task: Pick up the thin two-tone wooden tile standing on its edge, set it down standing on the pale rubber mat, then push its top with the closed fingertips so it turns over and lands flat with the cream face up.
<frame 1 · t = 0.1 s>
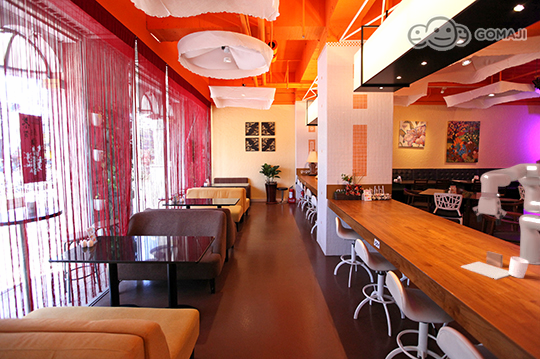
hand: (488, 223, 160), 31 cm above the bar counter, fingers open, 9 cm apart
mat: (486, 270, 167), on the bar counter
white cup: (515, 275, 158), on the bar counter
tile: (494, 265, 174), on the bar counter
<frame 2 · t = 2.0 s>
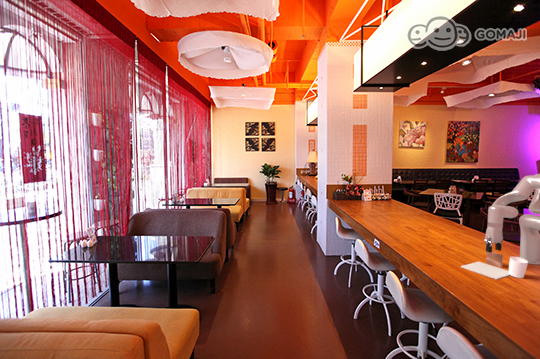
hand: (493, 251, 173), 9 cm above the bar counter, fingers open, 9 cm apart
white cup: (515, 275, 158), on the bar counter, touching mat
everything else where it was.
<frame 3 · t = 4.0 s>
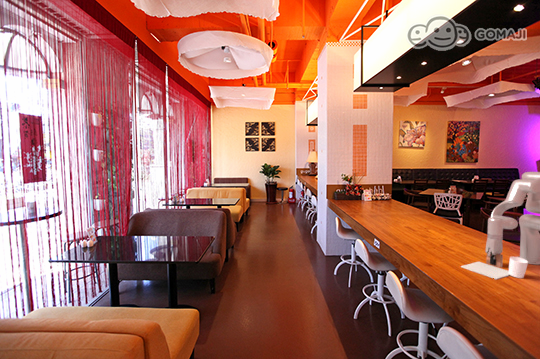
hand: (494, 263, 174), 1 cm above the bar counter, fingers closed on tile, 1 cm apart
tile: (494, 265, 174), on the bar counter, touching gripper
everything else where it was.
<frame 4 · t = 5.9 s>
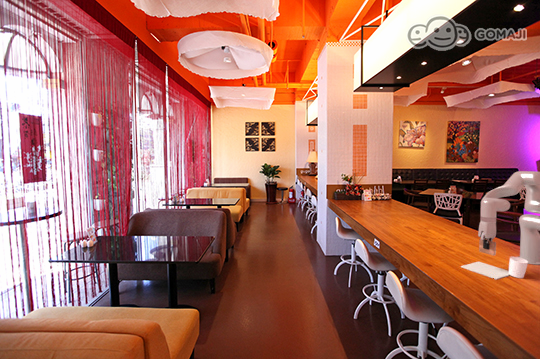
hand: (487, 248, 166), 14 cm above the bar counter, fingers closed on tile
tile: (487, 253, 166), point 11 cm above the bar counter, touching gripper
everything else where it was.
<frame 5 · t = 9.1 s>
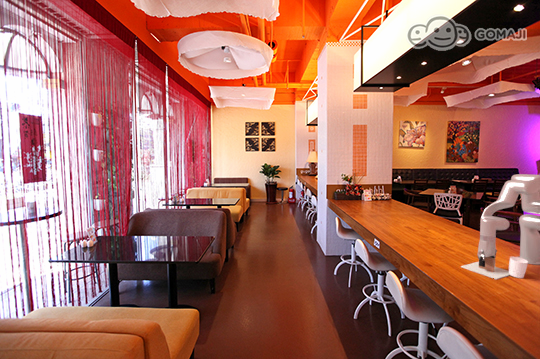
hand: (487, 264, 166), 4 cm above the bar counter, fingers open, 9 cm apart
tile: (486, 269, 167), point 1 cm above the bar counter, touching mat
everything else where it was.
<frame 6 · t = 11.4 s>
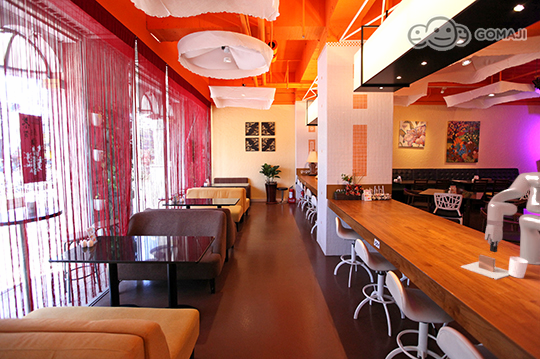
hand: (493, 251, 168), 11 cm above the bar counter, fingers closed
nothing on the bar counter moved.
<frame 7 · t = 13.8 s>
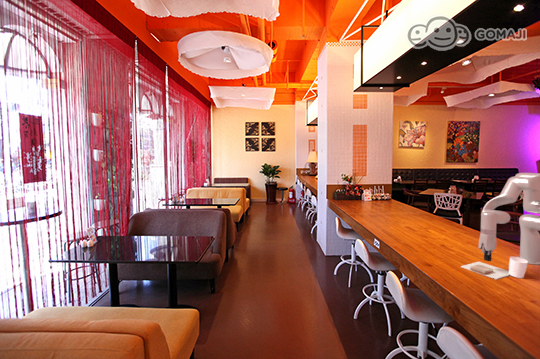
hand: (487, 260, 166), 6 cm above the bar counter, fingers closed
tile: (485, 268, 166), point 2 cm above the bar counter, tilted 90°, touching mat
everything else where it was.
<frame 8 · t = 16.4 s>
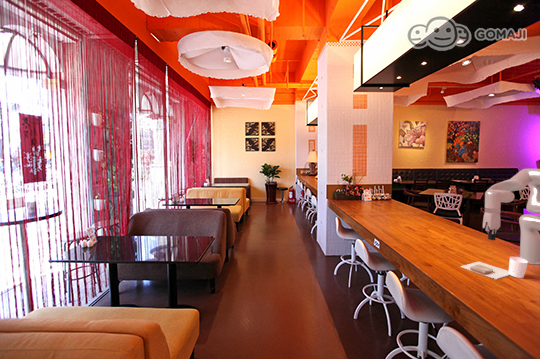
hand: (491, 239, 167), 19 cm above the bar counter, fingers closed
nothing on the bar counter moved.
at the end: tile tilted 90°; tile inside the target area on the mat (1.2 cm from its centre), point 1.6 cm above the mat's base; the gripper is holding nothing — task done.
